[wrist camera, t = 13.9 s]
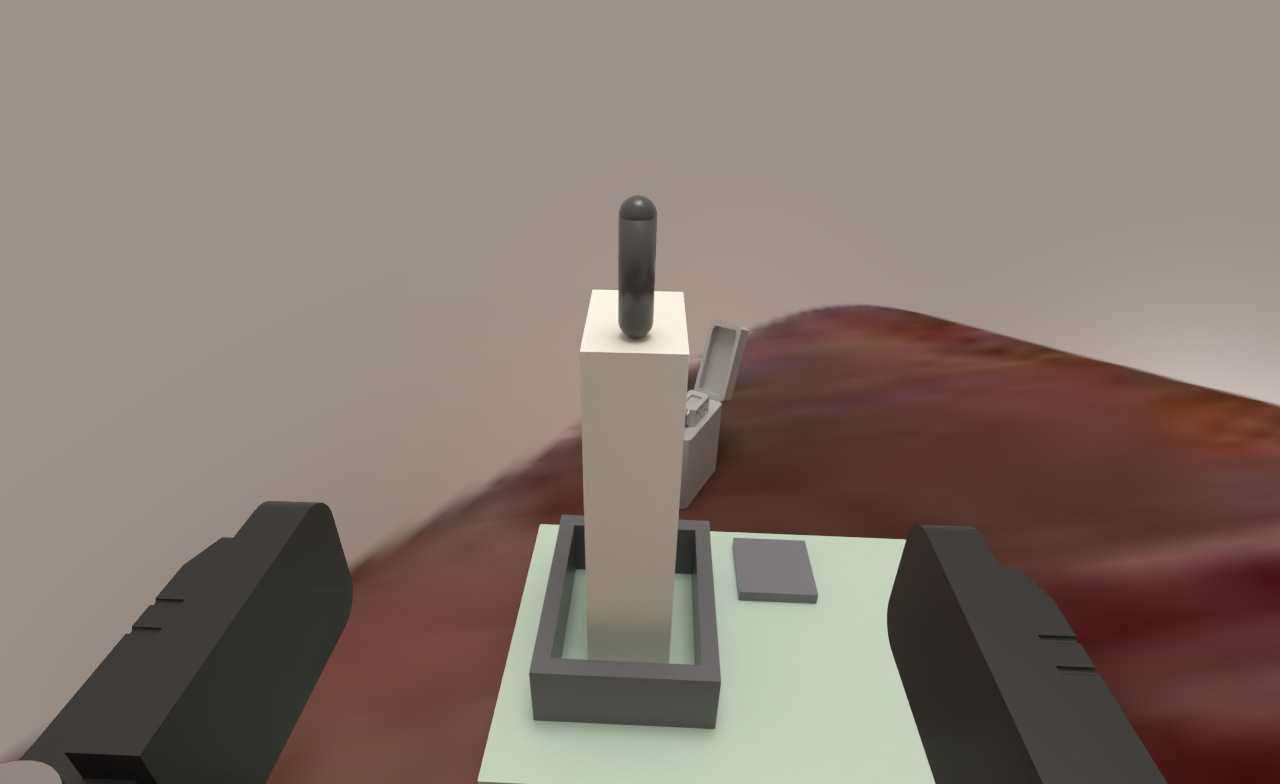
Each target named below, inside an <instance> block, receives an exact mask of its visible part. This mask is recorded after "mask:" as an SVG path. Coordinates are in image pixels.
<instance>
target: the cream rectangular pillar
mask: <svg viewBox="0 0 1280 784" xmlns="http://www.w3.org/2000/svg"><path fill="white" fill-rule="evenodd" d="M656 232H657V211H656V208H655V206H654V204H653V203H652V201H651V200H649V199H648V198H646V197H644V196H639V195H637V196H632V197H629V198H628V199H627V200H625V201H624V202H623V203H622V205H621V207H620V210H619V268H618V290H593V291H592V295H591V300H590V306H589V310H588V315H587V320H586V324H585V330H584V335H583V339H582V344H581V349H580V373H581V411H582V450H583V488H584V526H585V564H586V602H587V640H588V660H604V661H626V662H647V663H669V655H670V640H671V625H672V610H673V594H674V579H675V564H676V549H677V534H678V518H679V503H680V488H681V473H682V458H683V443H684V427H685V412H686V397H687V382H688V367H689V347H688V336H687V326H686V316H685V306H684V296H683V292H661V291H654V289H655V260H656Z"/></svg>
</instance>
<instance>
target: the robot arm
mask: <svg viewBox="0 0 1280 784" xmlns="http://www.w3.org/2000/svg"><path fill="white" fill-rule="evenodd" d="M352 597H353V586H352V580H351V576H350V572H349V569H348V566H347V562H346V559H345V555H344V552H343V549H342V545H341V542H340V538H339V535H338V532H337V528H336V525H335V521H334V518H333V515H332V512H331V510H330V508H329V507H328V506H327V505H326V504H324V503H316V502H287V501H285V502H284V501H267V502H264V503H263V504H261V505H260V506H259V507H258V508H257V509H256V510H255V511H254V512H253V514H252V515H251V516H250V517H249V519H248V520H247V521H246V523H245V524H244V525H243V526H242V527H241V529H240V530H239V531H238V533H237V534H236V535H235V537H234V538H221V539H219V540H218V541H217V542H215V543H214V544H212V545H211V546H210V547H208V548H207V549H205V550H204V551H203V552H201V553H200V554H198V555H197V556H196V557H194V558H193V559H191V560H190V561H189V562H187V563H186V564H184V565H183V566H182V568H181V569H180V570H179V571H178V572H177V573H176V575H175V576H174V577H173V578H172V579H171V581H170V582H169V583H168V584H167V585H166V587H165V588H164V589H163V590H162V592H160V594H159V595H158V596H157V597H156V602H155V604H154V605H150V606H149V607H148V608H147V609H146V610H145V612H144V613H143V614H142V615H141V616H140V618H139V619H138V620H137V621H136V622H135V623H134V625H133V626H132V632H131V633H130V634H125V636H124V637H123V638H122V639H121V640H120V641H119V643H118V644H117V645H116V646H115V647H114V649H113V650H112V651H111V652H110V653H109V654H108V656H107V657H106V658H105V659H104V661H103V662H102V663H101V664H100V665H99V667H98V668H97V669H96V670H95V671H94V672H93V674H92V675H91V676H90V677H89V678H88V680H87V681H86V682H85V683H84V684H83V686H82V687H81V688H80V689H79V690H78V691H77V693H76V694H75V695H74V696H73V697H72V699H71V700H70V701H69V702H68V703H67V705H66V706H65V707H64V708H63V709H62V710H61V712H60V713H59V714H58V715H57V716H56V718H55V719H54V720H53V721H52V722H51V724H50V725H49V726H48V727H47V728H46V730H45V731H44V732H43V733H42V734H41V736H40V737H39V738H38V739H37V740H36V741H35V743H34V744H33V745H32V746H31V747H30V748H29V749H28V750H27V752H26V753H25V754H24V755H23V756H22V757H21V758H20V759H19V760H18V761H14V762H7V763H3V764H0V784H265V783H266V781H267V780H268V778H269V776H270V774H271V772H272V770H273V768H274V766H275V764H276V762H277V760H278V758H279V756H280V754H281V752H282V750H283V748H284V746H285V744H286V742H287V740H288V738H289V736H290V734H291V732H292V730H293V728H294V726H295V724H296V722H297V720H298V718H299V716H300V714H301V712H302V711H303V709H304V707H305V705H306V703H307V701H308V699H309V697H310V695H311V693H312V691H313V689H314V687H315V685H316V683H317V681H318V679H319V677H320V675H321V673H322V671H323V669H324V667H325V665H326V663H327V661H328V659H329V657H330V655H331V653H332V651H333V649H334V647H335V645H336V643H337V642H338V640H339V638H340V636H341V634H342V632H343V630H344V628H345V625H346V623H347V621H348V618H349V614H350V610H351V605H352ZM887 630H888V638H889V643H890V647H891V651H892V654H893V657H894V660H895V663H896V666H897V669H898V672H899V675H900V678H901V681H902V684H903V687H904V690H905V693H906V696H907V699H908V702H909V705H910V708H911V711H912V714H913V717H914V720H915V723H916V726H917V729H918V732H919V735H920V738H921V742H922V745H923V748H924V751H925V754H926V757H927V760H928V763H929V766H930V769H931V772H932V775H933V778H934V781H935V784H1167V782H1166V780H1165V779H1164V777H1163V776H1162V774H1161V772H1160V771H1159V769H1158V767H1157V766H1156V764H1155V763H1154V761H1153V759H1152V758H1151V756H1150V755H1149V753H1148V751H1147V750H1146V748H1145V747H1144V745H1143V743H1142V742H1141V740H1140V738H1139V737H1138V735H1137V734H1136V732H1135V730H1134V729H1133V727H1132V726H1131V724H1130V722H1129V721H1128V719H1127V718H1126V716H1125V714H1124V713H1123V711H1122V710H1121V708H1120V706H1119V705H1118V703H1117V701H1116V700H1115V698H1114V697H1113V695H1112V693H1111V692H1110V690H1109V689H1108V687H1107V685H1106V684H1105V682H1104V681H1103V679H1102V677H1101V676H1097V675H1096V673H1095V666H1094V664H1093V663H1092V661H1091V660H1090V658H1089V656H1088V655H1087V653H1086V652H1085V650H1084V648H1083V647H1082V645H1081V644H1077V642H1076V635H1075V634H1074V632H1073V631H1072V629H1071V627H1070V626H1069V624H1068V623H1067V621H1066V619H1065V618H1064V616H1063V614H1062V613H1061V611H1060V610H1059V608H1058V606H1057V605H1056V603H1055V602H1054V600H1053V599H1052V598H1051V597H1050V596H1049V595H1048V594H1046V593H1045V592H1044V591H1043V590H1042V589H1041V588H1040V587H1039V586H1037V585H1036V584H1035V583H1034V582H1033V581H1032V580H1031V579H1030V578H1028V577H1027V576H1026V575H1025V574H1024V573H1023V572H1022V571H1021V570H1020V569H1018V568H1004V567H999V565H998V563H997V561H996V559H995V558H994V556H993V554H992V552H991V551H990V549H989V547H988V545H987V543H986V542H985V540H984V538H983V537H982V535H981V533H980V532H979V531H978V530H977V529H975V528H974V527H967V526H937V525H914V526H913V527H912V528H911V529H910V531H909V533H908V536H907V539H906V542H905V546H904V549H903V553H902V556H901V560H900V563H899V567H898V570H897V574H896V577H895V581H894V584H893V588H892V591H891V595H890V598H889V602H888V608H887Z"/></svg>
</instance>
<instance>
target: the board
mask: <svg viewBox="0 0 1280 784" xmlns="http://www.w3.org/2000/svg"><path fill="white" fill-rule="evenodd" d="M905 542H906V540H902V539H878V538H855V537H831V536H807V535H784V534H760V533H736V532H712V531H710V526H709V521H696V520H678V534H677V549H676V564H675V579H674V594H673V610H672V625H671V640H670V655H669V663H647V662H626V661H604V660H588V640H587V602H586V564H585V526H584V516H577V515H562V516H561V521H560V525H546V524H540V527H539V531H538V535H537V539H536V544H535V548H534V552H533V556H532V560H531V564H530V568H529V572H528V576H527V580H526V585H525V589H524V593H523V597H522V601H521V605H520V609H519V613H518V617H517V621H516V626H515V630H514V634H513V638H512V642H511V646H510V650H509V654H508V658H507V662H506V667H505V671H504V675H503V679H502V683H501V687H500V691H499V695H498V699H497V703H496V707H495V712H494V716H493V720H492V724H491V728H490V732H489V736H488V740H487V744H486V748H485V753H484V757H483V761H482V765H481V769H480V773H479V777H478V781H477V782H478V784H935V781H934V778H933V775H932V772H931V769H930V766H929V763H928V760H927V757H926V754H925V751H924V748H923V745H922V742H921V738H920V735H919V732H918V729H917V726H916V723H915V720H914V717H913V714H912V711H911V708H910V705H909V702H908V699H907V696H906V693H905V690H904V687H903V684H902V681H901V678H900V675H899V672H898V669H897V666H896V663H895V660H894V657H893V654H892V651H891V647H890V643H889V638H888V630H887V608H888V602H889V598H890V595H891V591H892V588H893V584H894V581H895V577H896V574H897V570H898V567H899V563H900V560H901V556H902V553H903V549H904V546H905Z"/></svg>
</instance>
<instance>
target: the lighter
mask: <svg viewBox="0 0 1280 784" xmlns="http://www.w3.org/2000/svg"><path fill="white" fill-rule="evenodd" d="M748 332H749V331H748V329H747V327H743V326H739V325H735V324H731V323H727V322H723V321H718V320H713V321H712V322H711V324H710V328H709V332H708V336H707V340H706V344H705V348H704V352H703V356H702V360H701V364H700V368H699V372H698V376H697V380H696V384H695V388H694V390H690V391H689V392H688V393H687V397H686V412H685V427H684V443H683V458H682V473H681V488H680V503H679V509H686V508H687V507H688V505H689V504H690V503H691V501H692V500H693V499H694V497H695V496H696V495H697V494H698V492H699V491H700V490H701V488H702V487H703V486H704V484H705V483H706V482H707V480H708V479H709V478H710V476H711V475H712V474H713V472H714V471H715V469H716V458H717V448H718V438H719V428H720V417H721V407H722V404H721V403H720V402H727V401H729V400H731V398H732V394H733V391H734V387H735V383H736V379H737V375H738V371H739V367H740V363H741V359H742V355H743V351H744V348H745V344H746V340H747V336H748Z"/></svg>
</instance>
